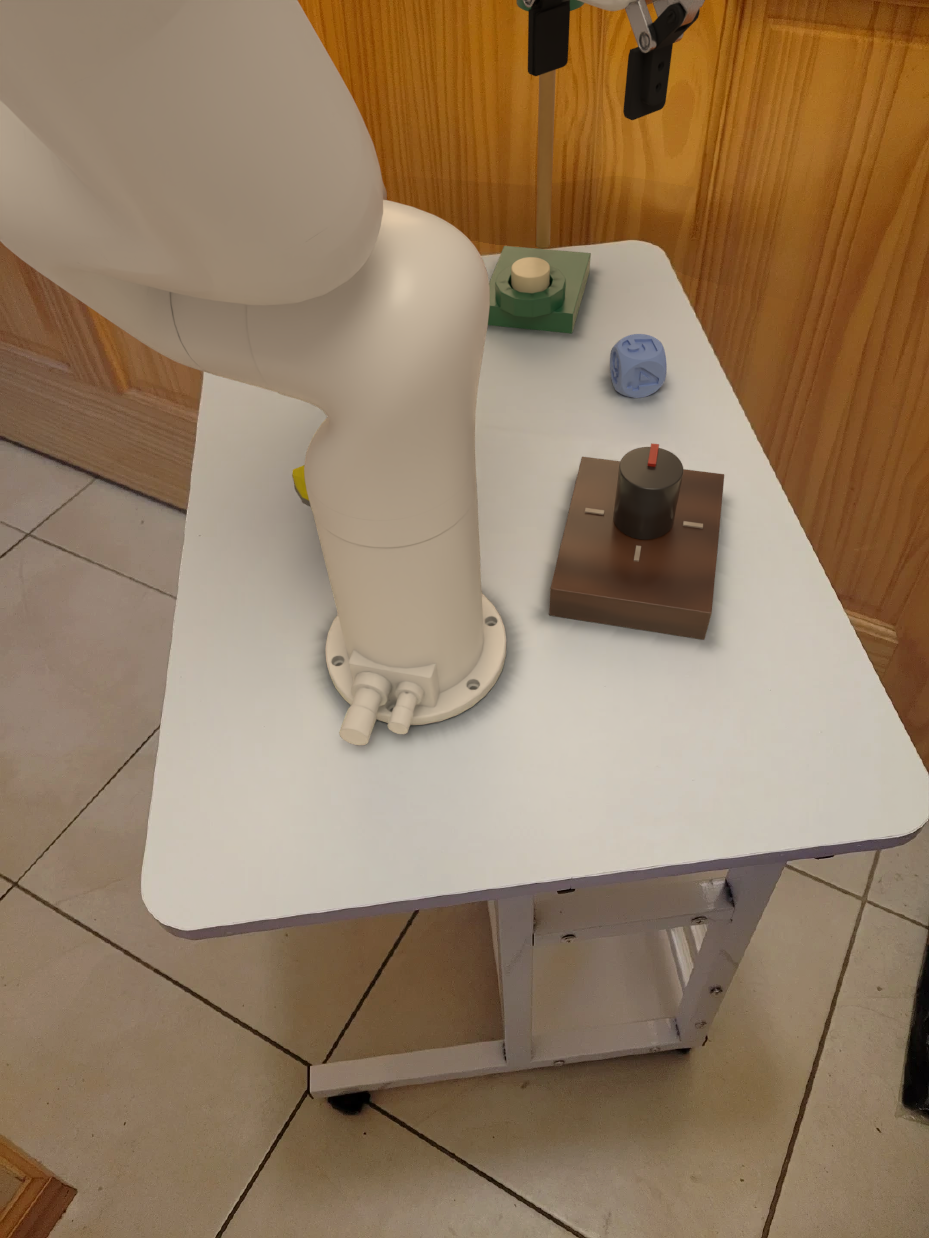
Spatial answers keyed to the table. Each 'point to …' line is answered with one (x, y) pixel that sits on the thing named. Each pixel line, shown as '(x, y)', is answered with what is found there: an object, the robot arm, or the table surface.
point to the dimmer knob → (647, 492)
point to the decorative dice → (638, 365)
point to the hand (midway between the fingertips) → (593, 91)
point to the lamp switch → (530, 275)
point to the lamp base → (541, 308)
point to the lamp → (545, 147)
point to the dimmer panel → (638, 558)
